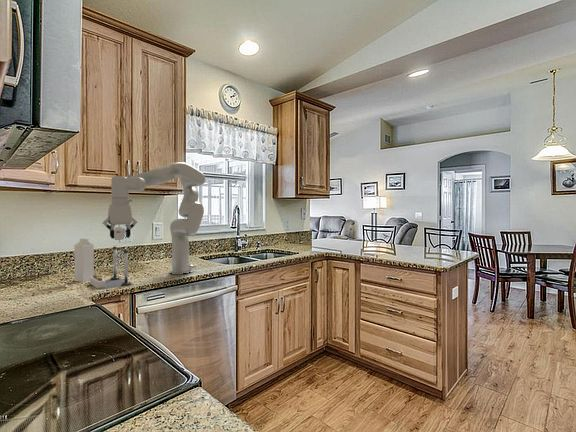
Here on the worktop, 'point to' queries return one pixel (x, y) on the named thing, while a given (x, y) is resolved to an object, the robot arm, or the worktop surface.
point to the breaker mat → (111, 283)
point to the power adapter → (119, 233)
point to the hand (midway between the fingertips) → (120, 237)
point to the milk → (84, 260)
